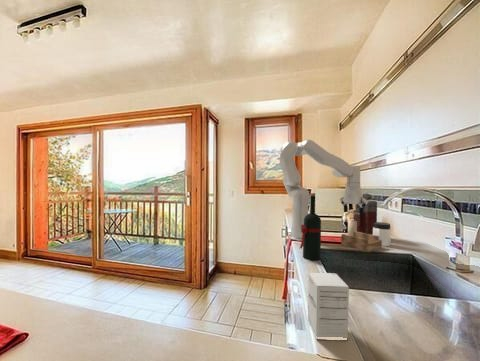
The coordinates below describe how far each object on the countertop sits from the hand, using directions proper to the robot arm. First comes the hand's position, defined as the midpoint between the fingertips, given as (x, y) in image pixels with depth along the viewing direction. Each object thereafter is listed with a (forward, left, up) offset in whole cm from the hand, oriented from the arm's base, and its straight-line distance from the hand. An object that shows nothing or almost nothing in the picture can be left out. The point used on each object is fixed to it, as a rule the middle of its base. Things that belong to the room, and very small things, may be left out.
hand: (353, 212), depth 143 cm
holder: (+11, -12, -16) cm, 23 cm away
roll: (0, 0, -16) cm, 16 cm away
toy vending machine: (+2, +11, -16) cm, 19 cm away
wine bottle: (+7, -52, -16) cm, 55 cm away
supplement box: (+42, -91, -16) cm, 102 cm away
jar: (+16, +2, -16) cm, 23 cm away
